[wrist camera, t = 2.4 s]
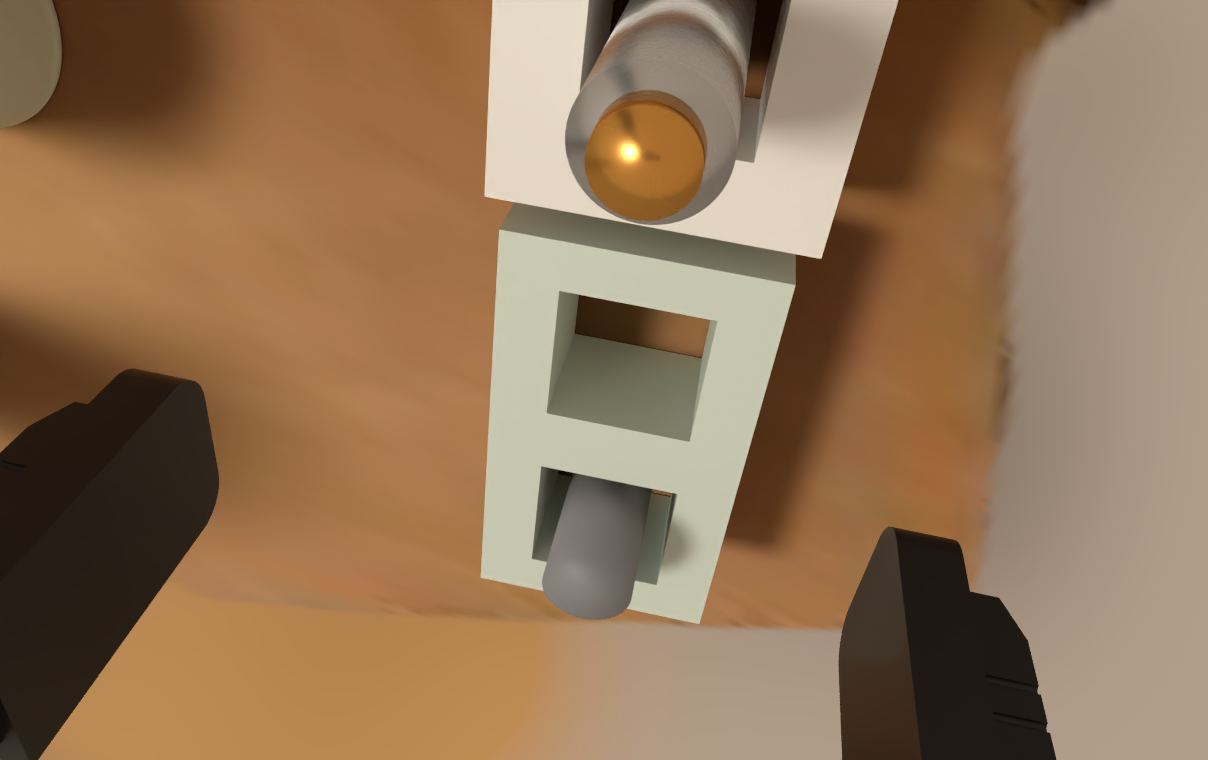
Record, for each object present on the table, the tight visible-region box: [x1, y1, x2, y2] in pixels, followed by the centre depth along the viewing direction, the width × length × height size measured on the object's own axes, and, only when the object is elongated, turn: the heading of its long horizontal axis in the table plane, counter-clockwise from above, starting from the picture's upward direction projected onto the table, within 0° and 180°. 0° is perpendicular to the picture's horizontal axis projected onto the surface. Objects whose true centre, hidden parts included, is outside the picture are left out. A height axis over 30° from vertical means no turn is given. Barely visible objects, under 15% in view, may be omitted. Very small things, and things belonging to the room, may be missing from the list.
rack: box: [481, 202, 796, 624], centre depth 33 cm, size 16×9×8 cm, turn 173°
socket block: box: [485, 0, 898, 259], centre depth 26 cm, size 10×10×5 cm
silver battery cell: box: [565, 0, 757, 225], centre depth 23 cm, size 4×4×12 cm
